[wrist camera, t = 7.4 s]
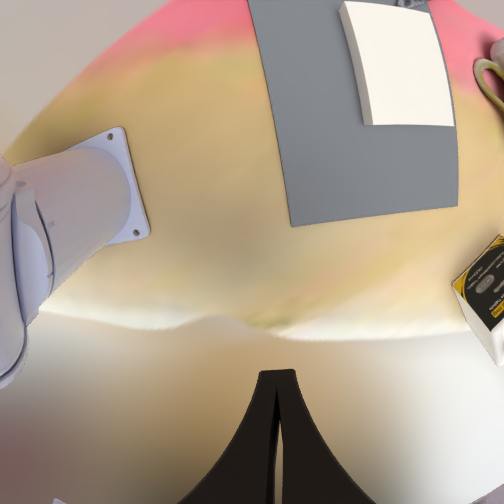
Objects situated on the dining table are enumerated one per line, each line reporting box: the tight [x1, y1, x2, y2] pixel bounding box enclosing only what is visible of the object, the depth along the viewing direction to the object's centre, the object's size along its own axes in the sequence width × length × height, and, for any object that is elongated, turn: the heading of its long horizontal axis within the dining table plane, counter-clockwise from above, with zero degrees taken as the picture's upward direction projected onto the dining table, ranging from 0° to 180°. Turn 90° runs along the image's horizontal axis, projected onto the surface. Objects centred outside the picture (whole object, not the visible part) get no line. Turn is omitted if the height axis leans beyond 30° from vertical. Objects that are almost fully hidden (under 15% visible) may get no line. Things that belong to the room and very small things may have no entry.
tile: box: [338, 1, 454, 126], centre depth 12 cm, size 2×8×6 cm
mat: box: [248, 0, 458, 227], centre depth 14 cm, size 13×16×1 cm
